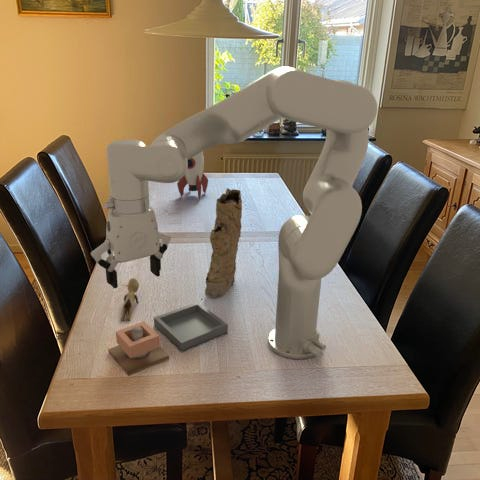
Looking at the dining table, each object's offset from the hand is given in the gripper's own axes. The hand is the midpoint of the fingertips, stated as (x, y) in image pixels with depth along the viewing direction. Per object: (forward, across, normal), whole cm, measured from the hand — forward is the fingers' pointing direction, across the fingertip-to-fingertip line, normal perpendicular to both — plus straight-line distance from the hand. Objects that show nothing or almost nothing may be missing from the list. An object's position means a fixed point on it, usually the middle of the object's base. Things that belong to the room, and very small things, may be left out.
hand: (134, 279), depth 105 cm
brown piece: (+19, 0, -1) cm, 19 cm away
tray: (+19, +14, +1) cm, 24 cm away
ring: (+16, -1, -1) cm, 16 cm away
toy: (+19, +70, +90) cm, 116 cm away
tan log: (+19, +31, +12) cm, 38 cm away
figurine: (+19, +7, +20) cm, 28 cm away
